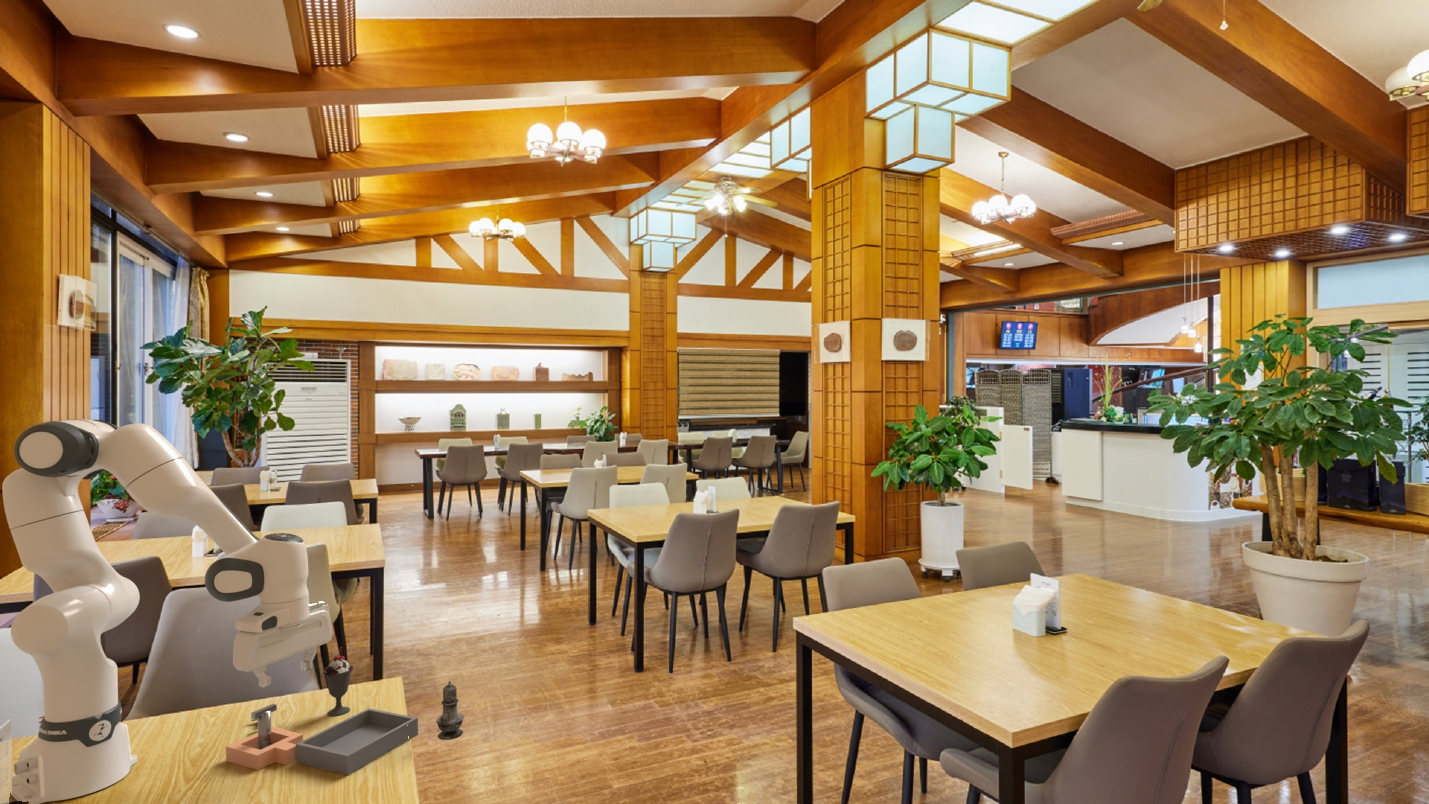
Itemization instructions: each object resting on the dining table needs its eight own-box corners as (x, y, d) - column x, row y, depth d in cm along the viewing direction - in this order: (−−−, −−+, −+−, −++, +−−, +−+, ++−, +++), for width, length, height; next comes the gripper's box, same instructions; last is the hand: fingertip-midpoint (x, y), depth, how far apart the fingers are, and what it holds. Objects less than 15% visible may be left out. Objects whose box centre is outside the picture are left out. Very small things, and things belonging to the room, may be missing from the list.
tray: (296, 762, 151) (295, 744, 151) (369, 724, 168) (368, 708, 168) (348, 775, 146) (347, 756, 146) (418, 734, 163) (417, 717, 163)
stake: (250, 757, 153) (249, 712, 153) (271, 747, 158) (270, 703, 158) (257, 759, 152) (257, 714, 152) (279, 749, 157) (278, 704, 157)
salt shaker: (455, 741, 160) (454, 687, 159) (430, 739, 161) (430, 685, 161) (469, 729, 165) (468, 676, 165) (445, 727, 166) (445, 675, 166)
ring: (226, 760, 152) (225, 746, 152) (272, 740, 161) (271, 726, 161) (269, 773, 147) (269, 758, 147) (314, 751, 156) (314, 737, 156)
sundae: (350, 703, 180) (349, 642, 180) (357, 712, 175) (356, 650, 175) (320, 711, 176) (319, 649, 176) (326, 720, 171) (325, 656, 171)
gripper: (317, 597, 163) (319, 659, 163) (227, 624, 144) (228, 694, 144) (338, 599, 161) (339, 662, 161) (249, 627, 142) (250, 698, 142)
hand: (286, 677), depth 153 cm, fingers open, 8 cm apart
